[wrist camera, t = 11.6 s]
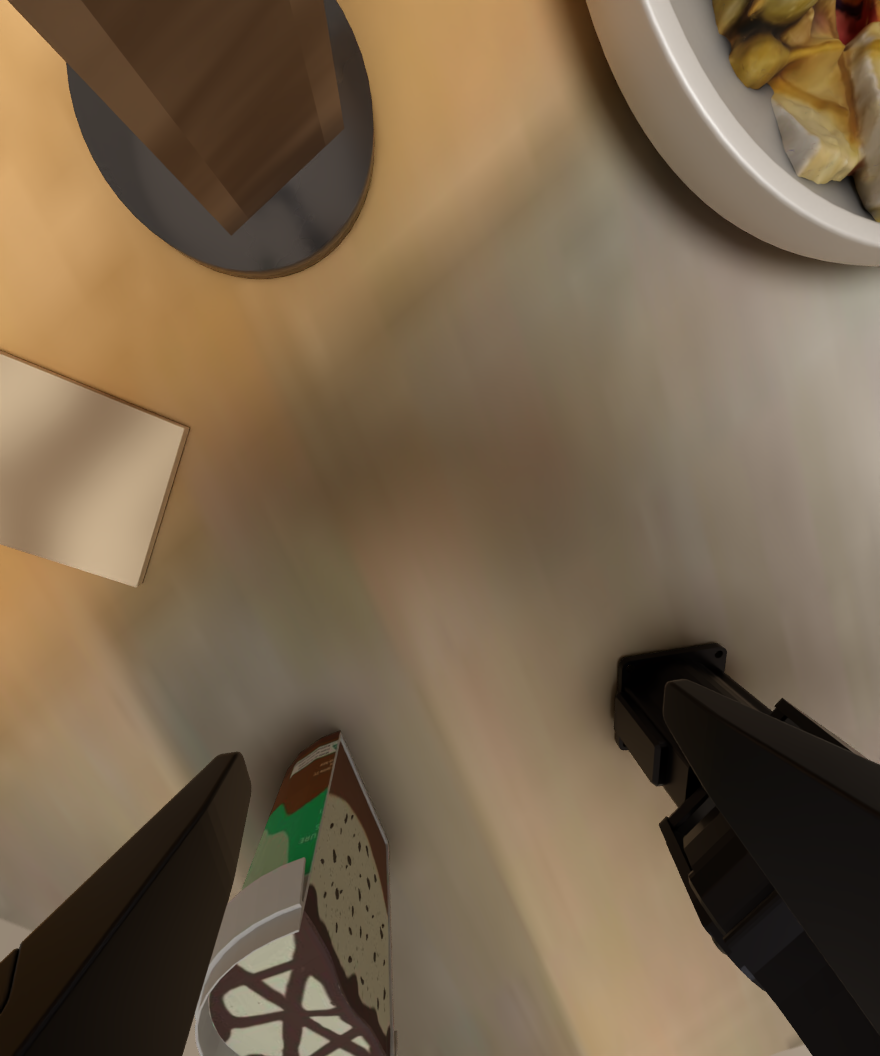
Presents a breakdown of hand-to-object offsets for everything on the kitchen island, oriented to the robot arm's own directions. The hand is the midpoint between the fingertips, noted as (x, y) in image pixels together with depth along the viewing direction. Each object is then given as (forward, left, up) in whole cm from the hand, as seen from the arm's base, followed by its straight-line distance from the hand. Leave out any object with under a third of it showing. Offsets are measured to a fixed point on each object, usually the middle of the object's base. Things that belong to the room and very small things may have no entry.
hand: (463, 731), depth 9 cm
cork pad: (+15, -5, -13) cm, 20 cm away
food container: (+8, +16, -13) cm, 22 cm away
